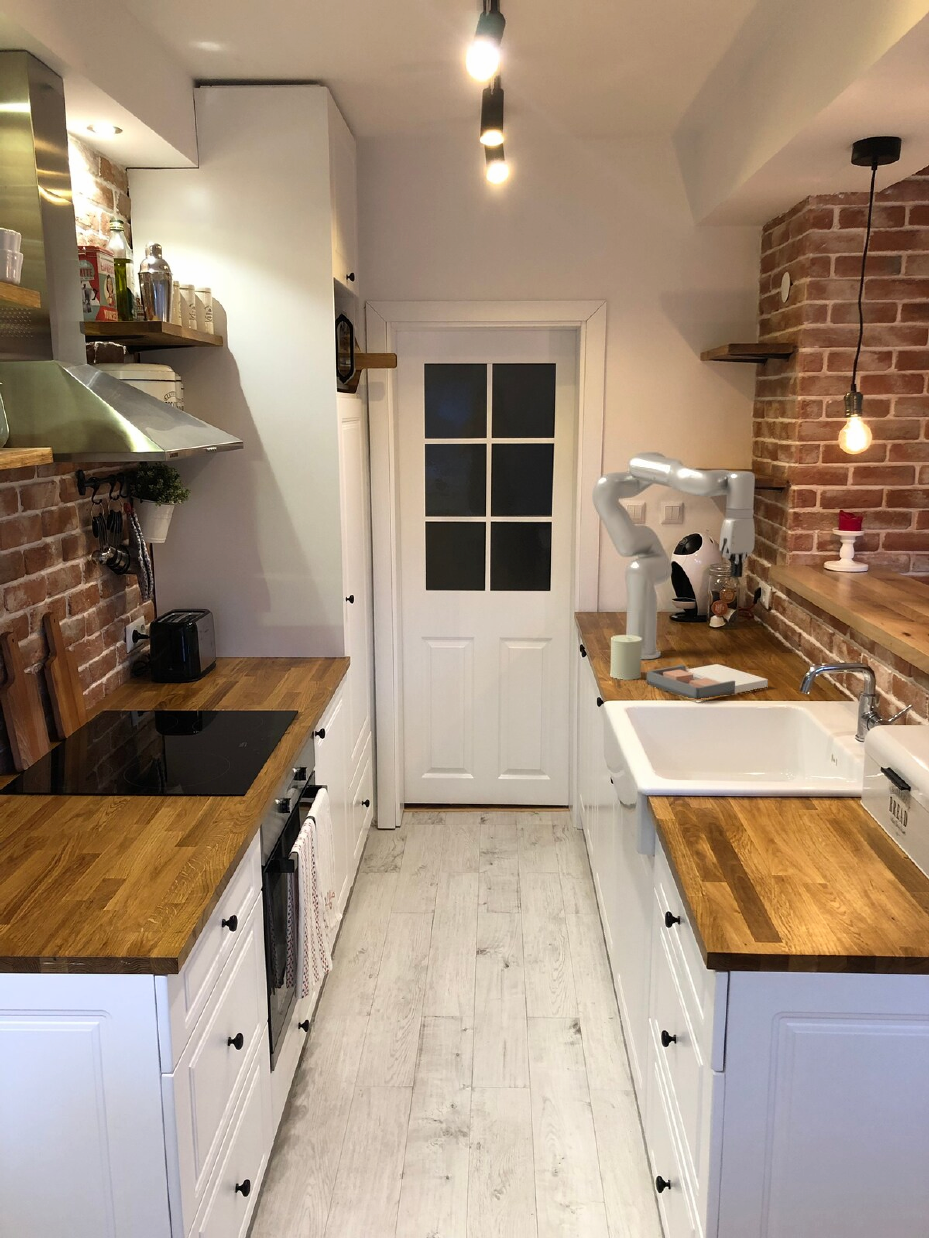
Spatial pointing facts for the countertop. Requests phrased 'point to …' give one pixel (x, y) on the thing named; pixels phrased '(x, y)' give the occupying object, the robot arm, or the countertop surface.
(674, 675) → the tile
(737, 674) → the plate
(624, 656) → the can
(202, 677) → the countertop surface
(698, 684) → the tile
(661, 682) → the tray
